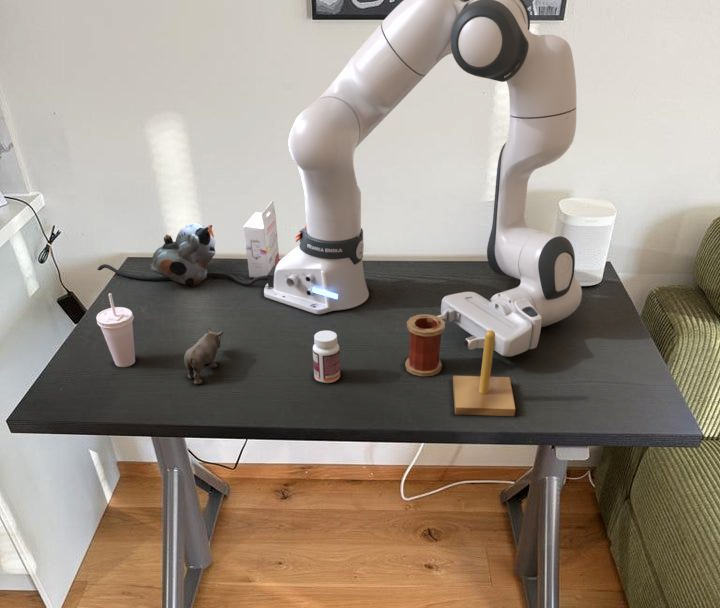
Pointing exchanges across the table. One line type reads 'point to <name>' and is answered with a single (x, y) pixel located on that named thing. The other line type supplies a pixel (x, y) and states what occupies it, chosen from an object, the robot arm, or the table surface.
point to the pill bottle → (326, 357)
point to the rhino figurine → (202, 354)
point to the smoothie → (118, 333)
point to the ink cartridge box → (262, 242)
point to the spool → (424, 345)
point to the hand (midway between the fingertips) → (451, 333)
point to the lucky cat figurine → (185, 254)
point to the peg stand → (484, 389)
